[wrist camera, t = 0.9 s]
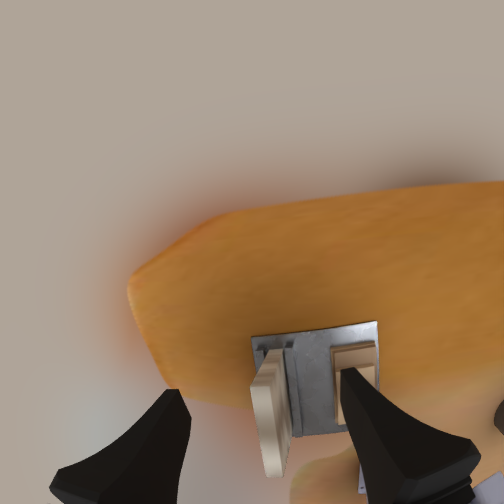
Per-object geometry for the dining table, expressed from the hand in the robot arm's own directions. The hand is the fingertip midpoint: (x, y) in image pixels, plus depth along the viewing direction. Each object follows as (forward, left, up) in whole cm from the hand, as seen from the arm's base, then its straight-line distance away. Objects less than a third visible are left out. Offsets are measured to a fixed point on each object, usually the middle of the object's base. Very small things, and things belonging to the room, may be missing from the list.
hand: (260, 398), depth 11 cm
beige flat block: (-8, +2, -17) cm, 19 cm away
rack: (-8, -2, -18) cm, 20 cm away
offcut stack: (-8, -6, -17) cm, 20 cm away
